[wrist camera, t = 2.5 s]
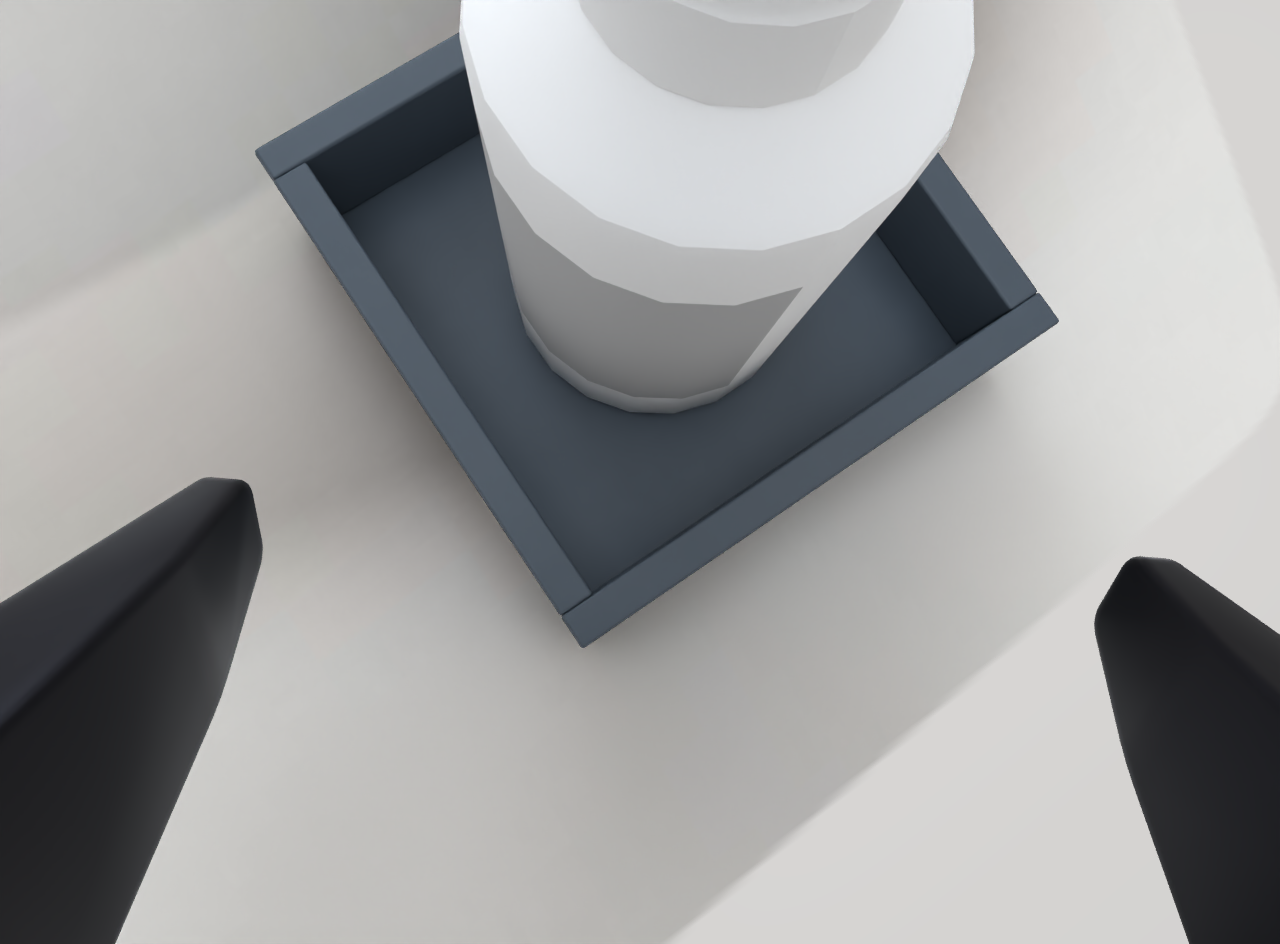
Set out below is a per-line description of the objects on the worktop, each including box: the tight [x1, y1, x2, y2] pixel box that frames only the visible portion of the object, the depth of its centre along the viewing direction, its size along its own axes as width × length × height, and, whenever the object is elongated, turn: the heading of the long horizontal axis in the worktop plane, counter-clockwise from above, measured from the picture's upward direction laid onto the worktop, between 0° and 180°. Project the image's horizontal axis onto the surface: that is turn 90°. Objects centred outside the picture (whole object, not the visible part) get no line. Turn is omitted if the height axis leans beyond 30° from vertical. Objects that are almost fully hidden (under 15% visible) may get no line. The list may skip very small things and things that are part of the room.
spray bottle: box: [459, 0, 975, 414], centre depth 14 cm, size 7×7×18 cm
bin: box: [255, 32, 1059, 648], centre depth 22 cm, size 13×13×4 cm
